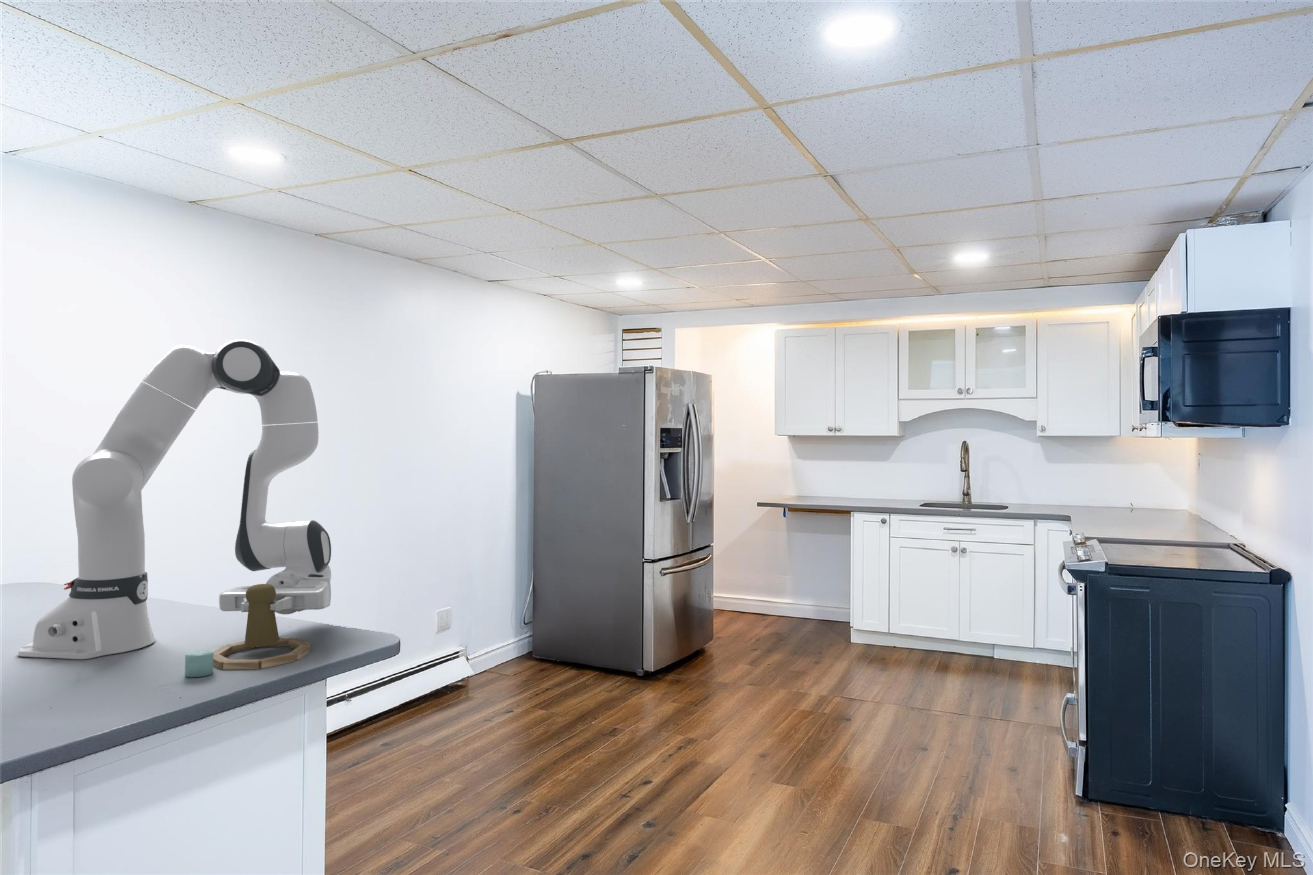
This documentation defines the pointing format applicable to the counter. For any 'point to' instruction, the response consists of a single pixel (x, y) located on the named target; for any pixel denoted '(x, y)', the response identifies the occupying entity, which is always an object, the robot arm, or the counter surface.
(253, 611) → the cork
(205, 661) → the loose bead
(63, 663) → the counter surface
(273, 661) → the wooden segmented ring
